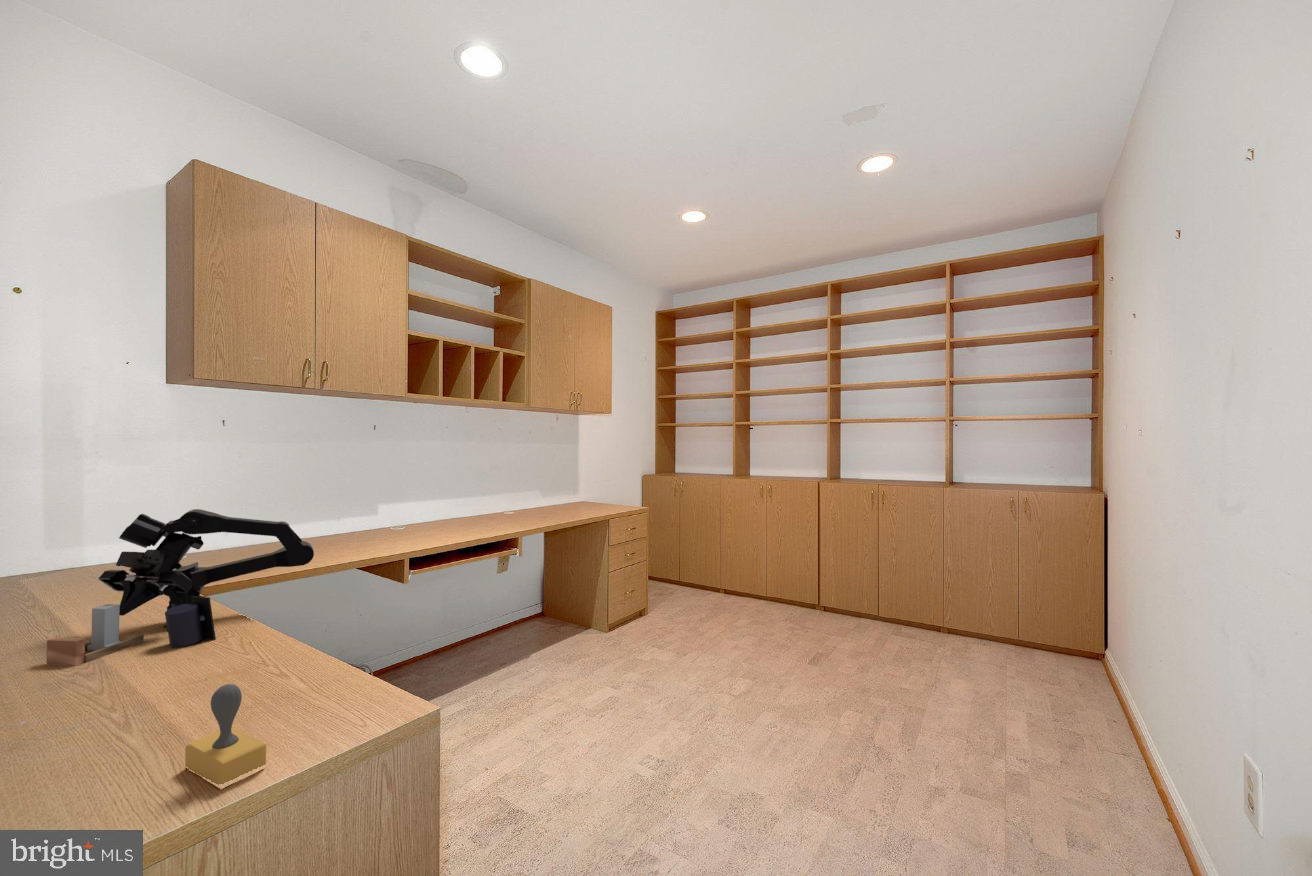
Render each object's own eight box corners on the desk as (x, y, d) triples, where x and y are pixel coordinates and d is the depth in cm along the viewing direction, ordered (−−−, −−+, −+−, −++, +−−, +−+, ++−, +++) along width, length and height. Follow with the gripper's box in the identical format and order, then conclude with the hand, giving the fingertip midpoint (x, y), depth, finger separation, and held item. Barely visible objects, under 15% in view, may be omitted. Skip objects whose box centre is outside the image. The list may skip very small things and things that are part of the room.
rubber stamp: (184, 769, 75) (185, 685, 76) (231, 749, 81) (232, 670, 81) (219, 791, 71) (220, 701, 71) (267, 768, 76) (268, 684, 76)
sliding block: (102, 645, 119) (102, 604, 119) (122, 645, 119) (123, 604, 119) (86, 650, 116) (87, 608, 116) (108, 651, 116) (109, 608, 116)
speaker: (207, 633, 127) (203, 591, 126) (216, 639, 124) (212, 596, 123) (165, 646, 121) (160, 602, 120) (173, 653, 118) (169, 608, 116)
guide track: (114, 640, 122) (114, 618, 122) (143, 641, 122) (143, 619, 122) (44, 664, 109) (45, 640, 109) (77, 665, 109) (77, 641, 109)
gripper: (107, 536, 126) (51, 596, 115) (181, 537, 125) (132, 597, 114) (141, 561, 134) (92, 620, 123) (211, 562, 133) (168, 621, 122)
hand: (120, 614), depth 120 cm, fingers closed
